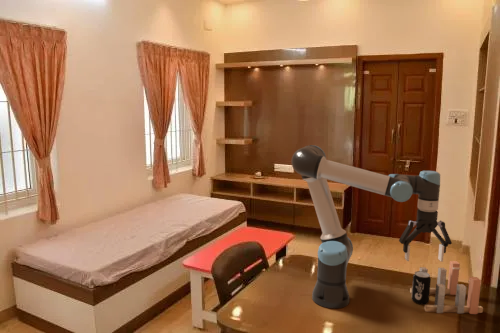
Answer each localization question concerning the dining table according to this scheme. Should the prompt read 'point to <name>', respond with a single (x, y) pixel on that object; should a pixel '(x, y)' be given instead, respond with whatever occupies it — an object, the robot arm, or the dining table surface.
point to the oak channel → (446, 307)
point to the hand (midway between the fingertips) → (423, 260)
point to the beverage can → (421, 287)
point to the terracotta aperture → (472, 291)
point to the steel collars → (441, 292)
